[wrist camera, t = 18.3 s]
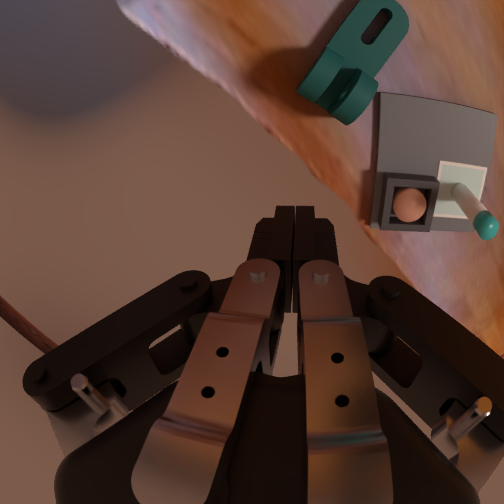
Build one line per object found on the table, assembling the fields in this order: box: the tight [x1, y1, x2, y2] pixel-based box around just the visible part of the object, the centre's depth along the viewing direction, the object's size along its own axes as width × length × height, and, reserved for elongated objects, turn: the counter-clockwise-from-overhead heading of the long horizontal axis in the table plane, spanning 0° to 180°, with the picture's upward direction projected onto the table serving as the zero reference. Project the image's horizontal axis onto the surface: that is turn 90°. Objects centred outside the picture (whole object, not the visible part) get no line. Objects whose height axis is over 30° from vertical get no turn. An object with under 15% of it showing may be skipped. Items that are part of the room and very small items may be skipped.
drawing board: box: [370, 92, 497, 232], centre depth 35 cm, size 20×19×3 cm
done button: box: [392, 187, 426, 222], centre depth 38 cm, size 5×5×2 cm
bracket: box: [296, 0, 409, 125], centre depth 26 cm, size 18×7×8 cm, turn 150°
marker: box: [451, 183, 499, 240], centre depth 32 cm, size 3×3×10 cm
